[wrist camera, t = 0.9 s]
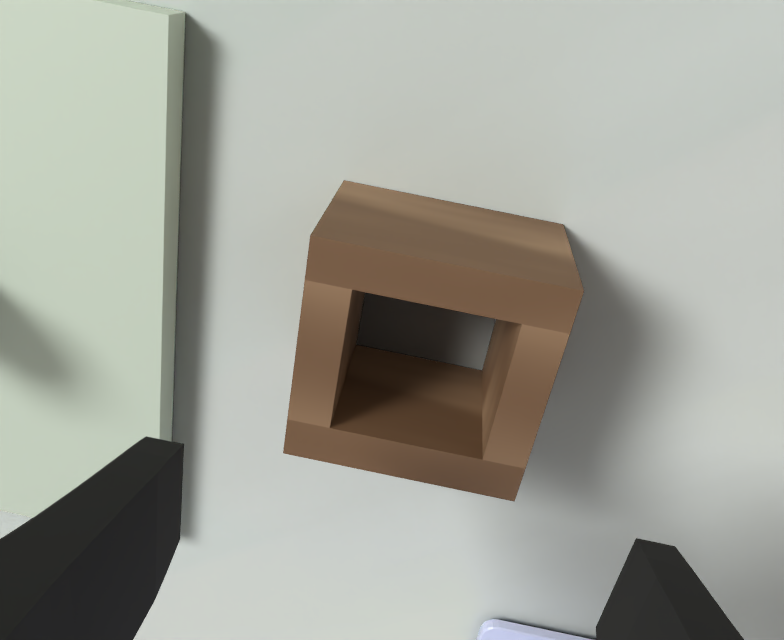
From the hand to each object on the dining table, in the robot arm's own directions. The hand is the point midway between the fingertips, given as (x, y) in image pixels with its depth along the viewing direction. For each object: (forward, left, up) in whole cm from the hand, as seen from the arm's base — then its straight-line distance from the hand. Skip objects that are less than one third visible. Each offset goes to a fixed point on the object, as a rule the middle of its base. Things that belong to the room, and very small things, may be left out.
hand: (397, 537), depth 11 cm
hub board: (-2, +13, -9) cm, 16 cm away
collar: (0, 0, -9) cm, 9 cm away
